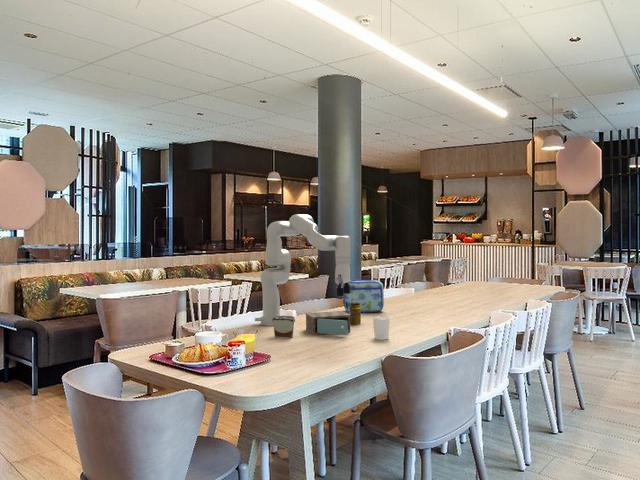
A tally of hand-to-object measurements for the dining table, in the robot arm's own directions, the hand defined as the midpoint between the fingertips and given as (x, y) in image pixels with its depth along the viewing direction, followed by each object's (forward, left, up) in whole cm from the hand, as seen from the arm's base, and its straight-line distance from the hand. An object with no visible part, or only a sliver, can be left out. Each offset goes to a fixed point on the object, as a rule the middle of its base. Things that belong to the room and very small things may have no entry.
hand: (343, 294), depth 262 cm
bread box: (-4, +13, -20) cm, 25 cm away
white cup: (+15, -13, -21) cm, 29 cm away
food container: (-28, +8, -21) cm, 36 cm away
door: (-6, 0, -19) cm, 20 cm away
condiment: (+16, +28, -21) cm, 38 cm away
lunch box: (+37, +67, -21) cm, 79 cm away
